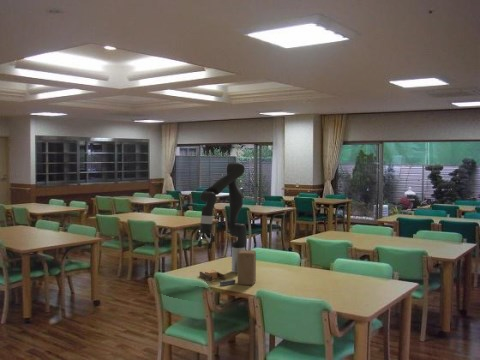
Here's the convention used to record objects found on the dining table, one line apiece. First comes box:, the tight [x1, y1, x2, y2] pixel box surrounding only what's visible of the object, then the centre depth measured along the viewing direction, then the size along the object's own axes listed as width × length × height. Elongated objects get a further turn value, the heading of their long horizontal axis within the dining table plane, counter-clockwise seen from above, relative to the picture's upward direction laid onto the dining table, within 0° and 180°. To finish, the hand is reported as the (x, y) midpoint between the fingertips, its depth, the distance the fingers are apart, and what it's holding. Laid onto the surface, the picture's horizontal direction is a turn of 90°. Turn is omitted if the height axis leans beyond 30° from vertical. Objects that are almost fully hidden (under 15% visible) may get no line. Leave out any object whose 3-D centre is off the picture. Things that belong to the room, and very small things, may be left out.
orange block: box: [204, 269, 218, 280], centre depth 313 cm, size 6×6×4 cm
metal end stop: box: [219, 279, 236, 287], centre depth 294 cm, size 10×2×2 cm, turn 121°
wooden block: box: [237, 249, 257, 286], centre depth 297 cm, size 10×10×20 cm
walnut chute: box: [199, 269, 225, 282], centre depth 312 cm, size 10×16×3 cm, turn 31°
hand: (204, 248), depth 305 cm, fingers open, 8 cm apart
